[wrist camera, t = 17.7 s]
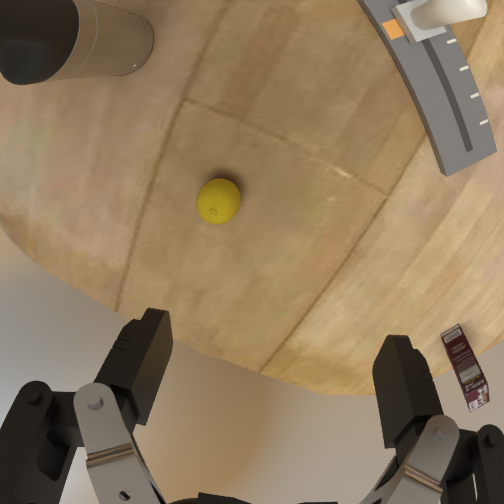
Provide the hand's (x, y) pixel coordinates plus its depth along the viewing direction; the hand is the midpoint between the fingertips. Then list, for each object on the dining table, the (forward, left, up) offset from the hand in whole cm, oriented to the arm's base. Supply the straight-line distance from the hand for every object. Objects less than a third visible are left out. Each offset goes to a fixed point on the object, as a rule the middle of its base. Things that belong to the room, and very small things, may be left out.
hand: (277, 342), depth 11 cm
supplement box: (+49, +14, -33) cm, 61 cm away
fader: (-8, +24, -31) cm, 40 cm away
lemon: (+1, -10, -33) cm, 35 cm away
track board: (-1, +24, -33) cm, 41 cm away
